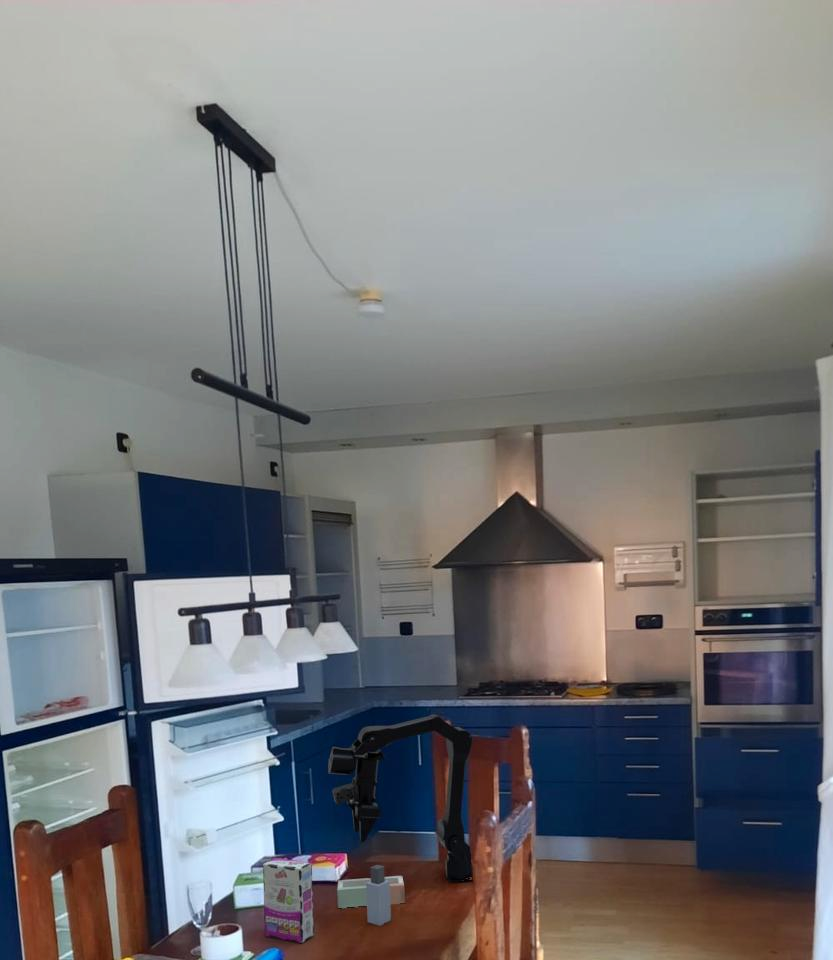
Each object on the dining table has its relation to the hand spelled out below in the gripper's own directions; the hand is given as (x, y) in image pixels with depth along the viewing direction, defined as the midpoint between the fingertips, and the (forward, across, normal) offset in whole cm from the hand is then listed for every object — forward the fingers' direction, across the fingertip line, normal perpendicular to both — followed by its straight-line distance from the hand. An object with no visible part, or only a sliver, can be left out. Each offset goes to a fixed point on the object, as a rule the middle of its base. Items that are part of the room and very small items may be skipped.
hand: (359, 836), depth 221 cm
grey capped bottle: (+14, +20, +3) cm, 25 cm away
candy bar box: (+17, +21, -18) cm, 33 cm away
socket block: (+14, +6, +4) cm, 15 cm away
